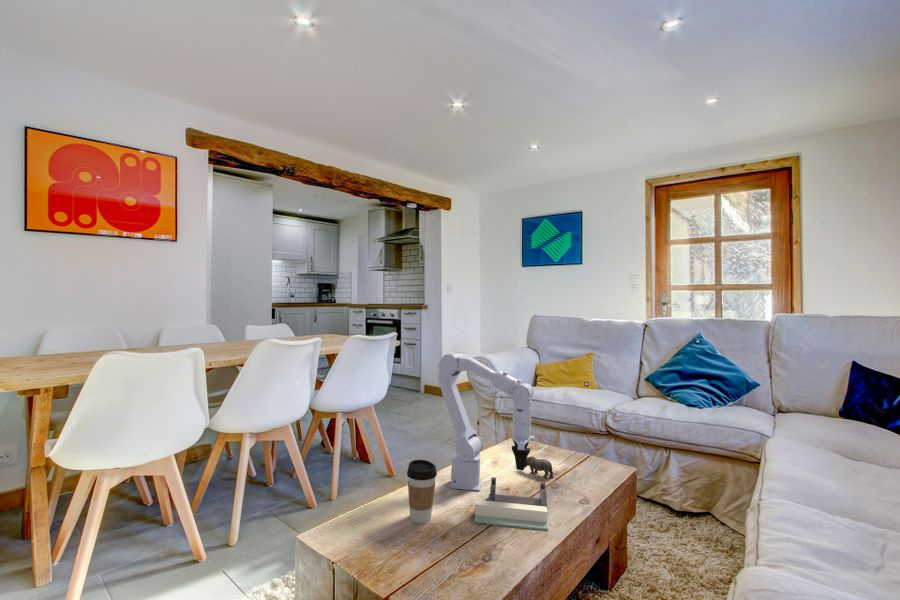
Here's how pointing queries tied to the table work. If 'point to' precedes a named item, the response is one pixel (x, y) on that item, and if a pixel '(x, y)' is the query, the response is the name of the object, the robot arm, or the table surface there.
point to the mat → (511, 522)
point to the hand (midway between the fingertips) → (520, 465)
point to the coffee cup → (421, 489)
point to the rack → (516, 499)
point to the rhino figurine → (539, 466)
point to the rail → (511, 511)
